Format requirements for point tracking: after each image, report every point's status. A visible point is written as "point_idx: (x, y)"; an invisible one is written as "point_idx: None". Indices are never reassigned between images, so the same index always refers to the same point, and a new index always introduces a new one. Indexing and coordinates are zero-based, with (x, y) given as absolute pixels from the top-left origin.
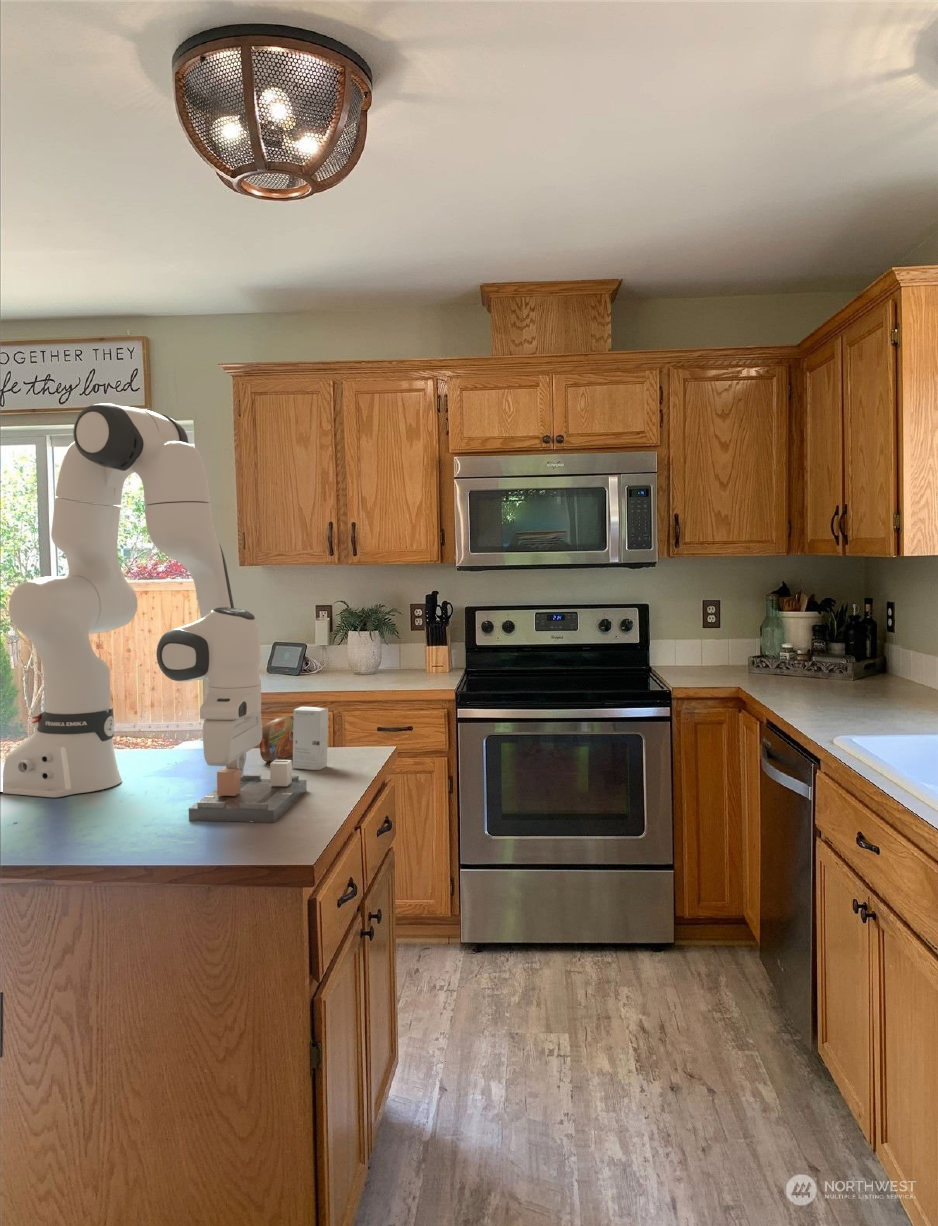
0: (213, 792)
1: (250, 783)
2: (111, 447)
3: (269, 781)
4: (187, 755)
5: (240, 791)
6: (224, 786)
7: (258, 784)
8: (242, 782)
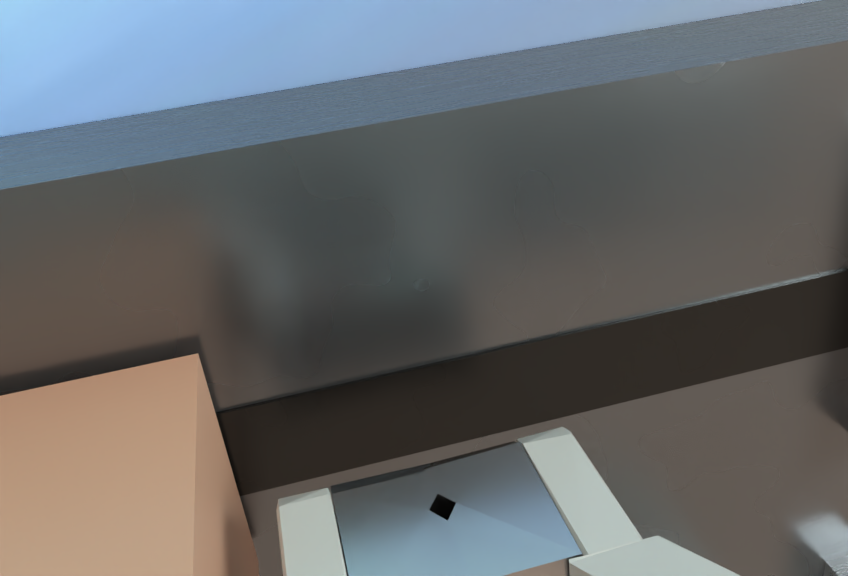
0: (113, 208)
1: (719, 411)
2: None
3: (808, 537)
4: None
5: None
6: None
7: (675, 513)
8: (758, 304)
